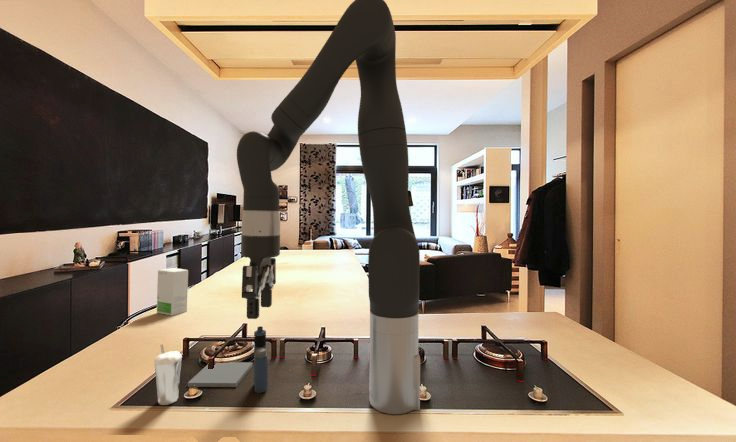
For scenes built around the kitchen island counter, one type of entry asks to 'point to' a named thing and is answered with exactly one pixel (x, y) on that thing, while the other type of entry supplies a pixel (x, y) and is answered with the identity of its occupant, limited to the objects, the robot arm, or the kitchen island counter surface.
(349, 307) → the kitchen island counter surface
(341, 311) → the kitchen island counter surface
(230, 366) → the charcoal mat
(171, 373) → the milkshake
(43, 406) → the kitchen island counter surface
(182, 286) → the skincare box
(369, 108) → the robot arm
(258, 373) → the vaping device
